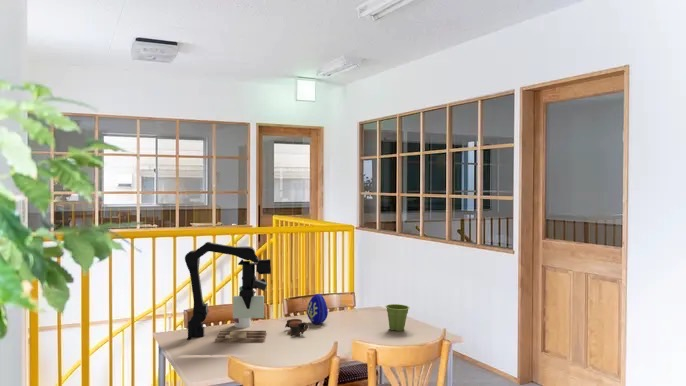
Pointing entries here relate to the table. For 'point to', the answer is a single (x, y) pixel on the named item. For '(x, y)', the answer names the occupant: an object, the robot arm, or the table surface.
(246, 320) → the milk bottle
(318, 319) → the ornament
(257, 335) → the walnut rack
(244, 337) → the lower pine offcut
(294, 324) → the pottery mug
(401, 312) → the plant pot
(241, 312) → the sage board
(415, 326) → the table surface
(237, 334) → the upper pine offcut
